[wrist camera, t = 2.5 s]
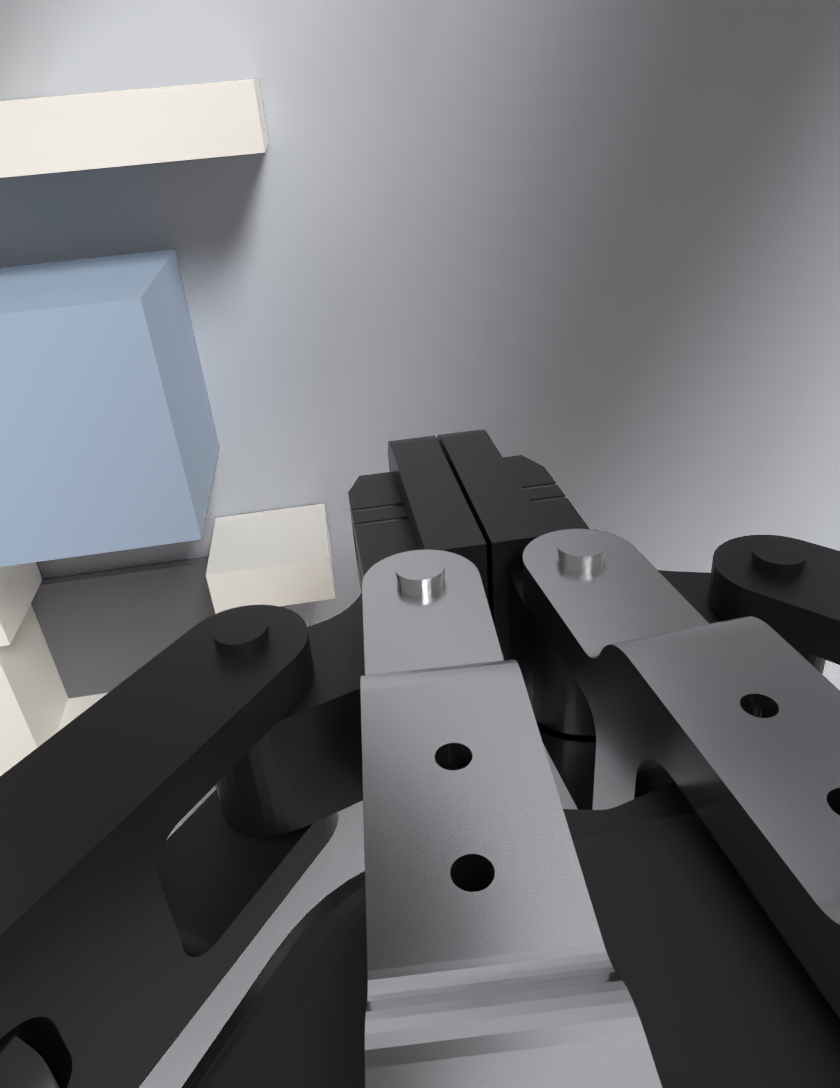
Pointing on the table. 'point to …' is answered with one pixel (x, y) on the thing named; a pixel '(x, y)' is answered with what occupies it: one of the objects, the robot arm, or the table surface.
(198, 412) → the block
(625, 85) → the table surface
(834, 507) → the table surface
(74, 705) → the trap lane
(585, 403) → the table surface
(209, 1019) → the table surface
